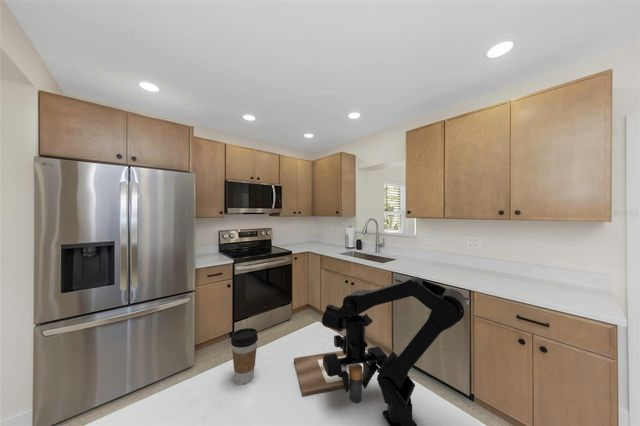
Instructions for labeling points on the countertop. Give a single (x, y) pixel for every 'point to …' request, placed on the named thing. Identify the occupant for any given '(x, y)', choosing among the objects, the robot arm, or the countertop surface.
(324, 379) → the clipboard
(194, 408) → the countertop surface
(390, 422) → the robot arm
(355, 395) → the black and orange cylinder
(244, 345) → the coffee cup
